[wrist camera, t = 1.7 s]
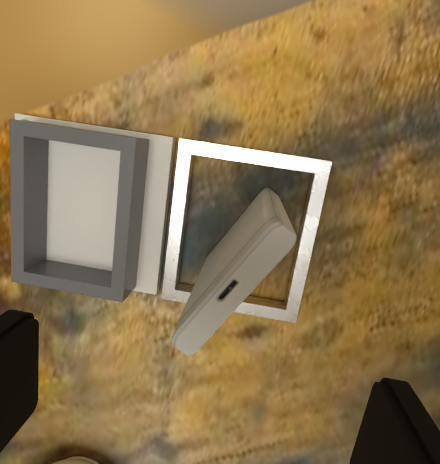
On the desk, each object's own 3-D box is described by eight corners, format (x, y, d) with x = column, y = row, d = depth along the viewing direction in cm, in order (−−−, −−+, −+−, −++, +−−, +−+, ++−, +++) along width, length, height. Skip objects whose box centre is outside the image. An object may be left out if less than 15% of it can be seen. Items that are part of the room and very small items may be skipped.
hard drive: (202, 260, 29) (165, 340, 17) (266, 184, 27) (272, 215, 15) (218, 272, 29) (191, 359, 17) (282, 198, 27) (301, 238, 15)
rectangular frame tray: (328, 160, 26) (332, 161, 25) (294, 314, 30) (295, 323, 28) (183, 138, 27) (179, 138, 26) (165, 291, 30) (161, 298, 29)
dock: (176, 137, 27) (162, 136, 23) (159, 290, 30) (145, 311, 26) (23, 114, 28) (-15, 109, 24) (23, 265, 31) (-10, 282, 27)
